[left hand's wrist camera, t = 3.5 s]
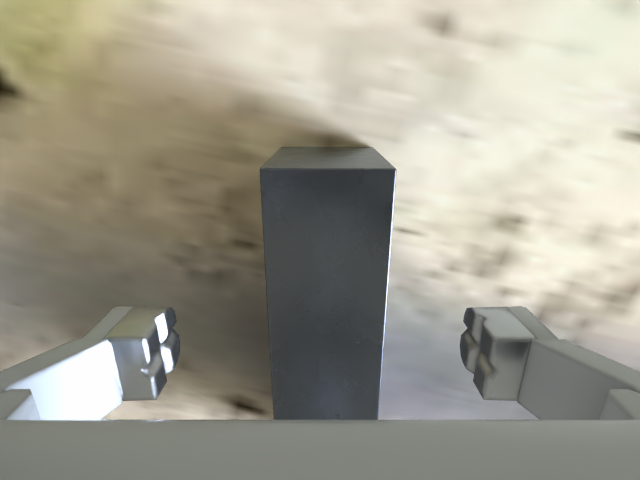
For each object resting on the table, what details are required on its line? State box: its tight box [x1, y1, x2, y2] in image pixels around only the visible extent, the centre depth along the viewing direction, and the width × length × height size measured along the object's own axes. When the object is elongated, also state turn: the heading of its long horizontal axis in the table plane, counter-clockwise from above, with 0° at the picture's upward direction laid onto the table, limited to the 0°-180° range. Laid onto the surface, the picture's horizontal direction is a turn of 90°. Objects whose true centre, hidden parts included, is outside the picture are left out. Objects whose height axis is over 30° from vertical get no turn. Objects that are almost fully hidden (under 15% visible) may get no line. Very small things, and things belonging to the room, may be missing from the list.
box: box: [260, 147, 396, 420], centre depth 25 cm, size 24×6×8 cm, turn 0°
